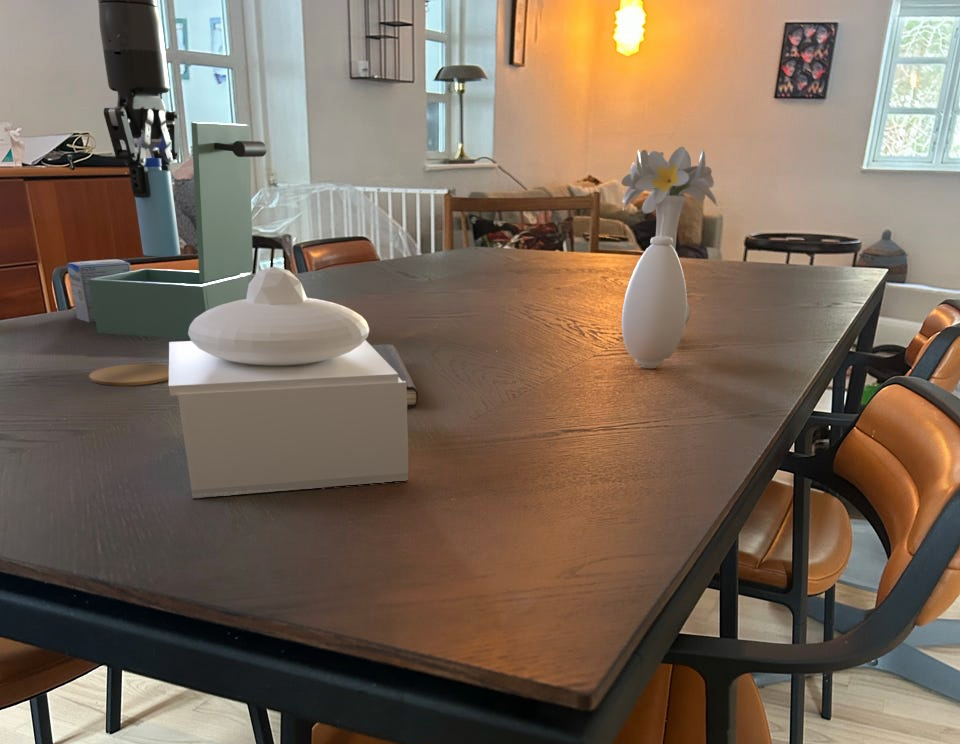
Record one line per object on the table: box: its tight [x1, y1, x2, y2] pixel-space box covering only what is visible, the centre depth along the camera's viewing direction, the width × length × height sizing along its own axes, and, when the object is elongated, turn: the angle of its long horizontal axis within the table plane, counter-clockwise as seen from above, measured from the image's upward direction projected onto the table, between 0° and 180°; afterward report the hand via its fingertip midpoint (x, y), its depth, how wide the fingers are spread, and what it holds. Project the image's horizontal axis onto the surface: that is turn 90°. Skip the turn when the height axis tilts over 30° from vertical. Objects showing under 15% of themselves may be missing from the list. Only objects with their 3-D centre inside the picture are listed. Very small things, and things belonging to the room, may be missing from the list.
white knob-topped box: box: [168, 266, 410, 495], centre depth 78 cm, size 18×18×16 cm
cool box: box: [88, 268, 252, 340], centre depth 131 cm, size 18×14×8 cm
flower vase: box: [621, 146, 719, 326], centre depth 130 cm, size 13×18×25 cm
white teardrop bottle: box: [621, 213, 688, 370], centre depth 113 cm, size 8×8×18 cm
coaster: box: [88, 363, 169, 387], centre depth 109 cm, size 10×10×1 cm
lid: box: [190, 121, 268, 283], centre depth 122 cm, size 19×14×5 cm
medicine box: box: [66, 258, 132, 323], centre depth 138 cm, size 8×4×9 cm, turn 135°
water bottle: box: [134, 157, 181, 257], centre depth 125 cm, size 5×5×12 cm
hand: (153, 195), depth 124 cm, fingers closed on water bottle, 5 cm apart
